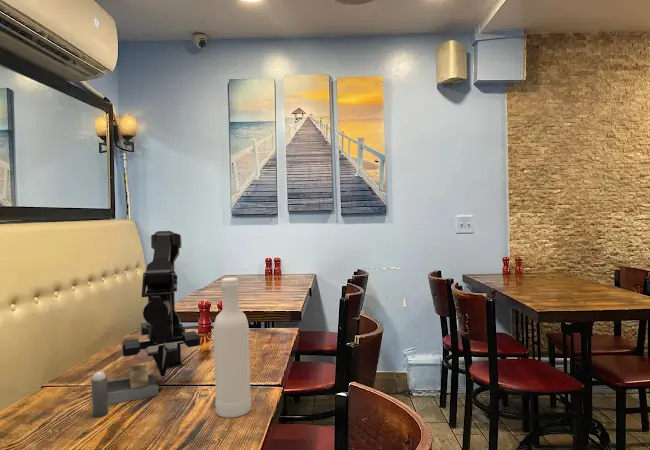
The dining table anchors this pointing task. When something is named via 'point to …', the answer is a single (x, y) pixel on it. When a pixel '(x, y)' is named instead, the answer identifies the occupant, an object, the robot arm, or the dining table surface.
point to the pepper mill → (99, 394)
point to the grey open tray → (129, 390)
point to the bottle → (231, 355)
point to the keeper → (138, 376)
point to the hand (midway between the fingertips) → (162, 376)
